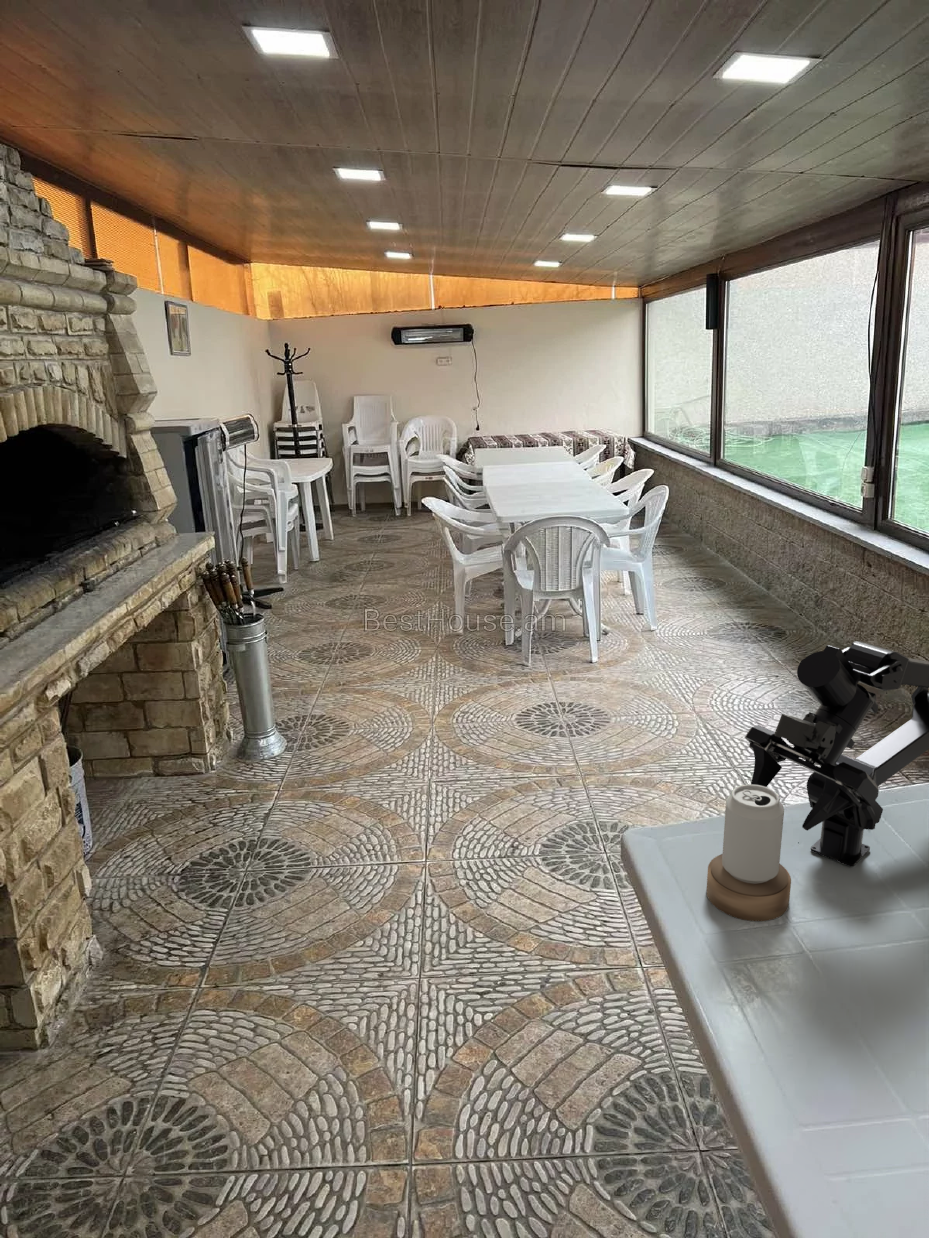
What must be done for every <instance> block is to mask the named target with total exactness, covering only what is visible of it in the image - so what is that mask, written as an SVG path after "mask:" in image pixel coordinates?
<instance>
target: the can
mask: <svg viewBox="0 0 929 1238" xmlns="http://www.w3.org/2000/svg"><path fill="white" fill-rule="evenodd" d="M724 809H725V810H724V823H723V824H724V826H723V827H724V828H723V838H722V839H723V842H722V854H723V855H722V865H723V867H724V868H725V870H726V871H728V872H729V873H730V874H731V875H732V876H733V877H734V878H736V879H738V880H740V881H743V882H747V883H754V884H756V883H763V882H766V881H768V880H770V879H772V878H774V877H775V876H776V875H777V874H778V871H779V863H780V861H781V851H782V850H781V849H782V839H783V827H784V818H785V817H784V815H785V808H784V805H783V803H782V802H781V798H780V795H779V794H778V793H777V792H776V791H775V790H773V789H772V788H769V787H768V786H767V787H764V786H760V785H752V784H751V783H749V784H743V785H739V786H738V785H737V786H736V787H734V788H733V789H732V790H731V795H729V796H728V797H727V798H726V800H725V808H724ZM780 864H781V863H780Z"/></svg>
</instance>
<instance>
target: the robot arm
mask: <svg viewBox="0 0 929 1238" xmlns="http://www.w3.org/2000/svg"><path fill="white" fill-rule="evenodd" d="M850 645H851V646H848V647H845V648H843V649H841V648H840V647H837V646H833V645H830V644H827V645H826V646H825V648H824V649H823V650H822V651H816V652H813V653H810V654H809V655H807V656H806V657H805V658H803V659H801V661H800V662H799V664H798V666H797V669H796V674H797V676H796V677H797V678H798V681H799V682H800V683H801V684H802V686H803V687H804V688H805V689H806V690H807V692H808V693H809V694H810V695H811V696H812V697H813V699H814V700H815V701H816V702H817V703H818V704H819V706H818V708H817V709H816V711H815V713H814V712H811V711H809V712H808V713H807V714H806V715H805V716H804V718H799V717H795V716H791V715H789V714H784V713H782V714H781V715H780V718H779V721H778V723H777V727H776V728H775V731H774V730H772V729H769V728H766V727H764V726H762V725H760V724H757V725H754V726H751V728H749V730H748V731H747V733H746V735H745V736H744V739H745V740H746V741H747V742H748V743H749V744H748V746H749V748H750V750H751V751H753V757H754V768H753V773H752V778H751V783H750V784H752V785H760V786H764V787H767V788H768V786H769V785H770V784H771V782H772V781H773V780H774V778H775V777H776V776H777V775H778V774H779V772H780V771H781V770H782V768H783V767H782V766H781V764H779V763H781V762H784V761H786V760H788V761H790V762H792V763H794V764H797V765H799V766H800V767H803V768H805V769H808V770H810V771H812V773H811V774H810V775H809V776H808V779H807V782H806V791H807V796H808V801H809V806H810V808H811V810H810V812H809V813H808V814H807V816H806V817H805V820H804V821H803V823H802V826H801V827H802V829H803V830H805V831H810V830H811V829H812V828H814V827H816V826H817V825H819V824H821V831H820V838H819V839H818V840H816V842H815V843H813V845H811V846H810V851H811V852H813V853H815V854H817V855H820V856H822V857H825V858H828V859H830V860H832V861H834V862H838V863H841V864H842V865H845V866H847V867H851V868H852V867H855V866H856V865H857V864H858V863H859V862H860V861H861V860H862V859H863V858H864V857H865V856H866V855H867V854H868V853H869V852H870V850H871V846H869V845H868V844H865V843H863V839H864V830H868V831H869V830H870V831H873V830H875V829H876V824H878V823H879V822H880V820H881V818H882V815H883V811H884V808H883V807H882V806H881V805H880V804H879V802H878V801H877V799H878V797H879V793H880V792H879V791H880V789H879V786H881V785H882V784H884V783H885V782H886V781H887V780H889V779H890V778H892V777H893V776H894V775H896V774H897V773H899V772H900V771H901V770H902V769H904V768H905V767H906V766H908V765H909V764H911V763H912V762H913V761H914V760H916V759H918V757H920V756H921V755H923V754H924V753H925V752H927V751H928V750H929V660H921V659H917V658H910V657H907V656H906V655H904V654H902V653H900V652H898V651H895V650H891V649H888V648H884V647H881V646H878V645H875V644H872V643H868V642H864V641H861V640H855V641H853V642H851V644H850ZM859 683H860V684H859ZM861 684H863V685H866V686H867V687H868V686H869V687H871V688H874V689H877V690H880V691H884V692H886V691H887V692H888V691H893V690H898V689H900V688H901V686H902V685H906V686H913V687H916V689H915V691H914V692H913V693H912V694H911V696H910V697H911V701H912V711H911V712H912V713H911V718H910V719H909V720H908V721H906V722H905V723H904V724H902V725H901V726H900V727H898V728H896V729H895V730H894V731H892V732H891V733H890V734H888V735H887V736H885V737H884V738H882V739H881V740H879V741H878V742H877V743H875V744H874V745H872V746H871V747H870V748H868V749H867V750H865V751H863V753H861V754H860V755H858V756H857V757H855V758H852V757H849V756H848V755H845V754H843V753H844V751H845V749H846V748H849V749H852V748H853V747H854V745H855V743H856V742H855V741H854V740H853V737H854V735H855V734H856V732H857V731H858V729H859V727H860V726H861V724H862V723H863V722H864V719H865V718H866V716H867V715H868V713H869V712H871V713H874V714H877V713H878V711H879V704H878V703H877V694H876V693H874V692H871V691H869V690H867V689H866V687H864V686H863V685H861ZM783 738H784V739H786V741H787V742H788V743H789V744H790V745H789V744H788V743H787V742H786V741H785V740H784V739H783ZM791 745H793V746H791Z"/></svg>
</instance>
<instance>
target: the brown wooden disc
mask: <svg viewBox="0 0 929 1238" xmlns="http://www.w3.org/2000/svg"><path fill="white" fill-rule="evenodd" d="M722 855H723V853H721V854H719V855H717V856H715V857H713V858H712V859H711V860H710V861H709V863H708V865H707V876H706V877H707V879H706V895H707V898H708V900H709V902H710V903H711V904H712V905H713V906H714V907H715V908H716V909H717V910H719V911H720V912H722V913H724V914H726V915H727V916H730V917H732V918H736V919H738V920H742V921H748V922H766V921H771V920H775V919H778V918H781V916H783V915H784V914H786V912H787V911H788V909H789V905H790V898H791V887H792V886H791V885H792V877H791V875H790V873H789V871H788V870H787V869H786V867H784V866H783V864H781V863H779V871H778V874H777V875H776V876H775V877H774V878H772V879H770V880H768V881H766V882H763V883H756V884H754V883H747V882H743V881H740V880H738V879H736V878H734V877H733V876H732V875H731V874H730V873H729V872H728V871H726V870H725V868H724V867H723V865H722Z"/></svg>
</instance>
